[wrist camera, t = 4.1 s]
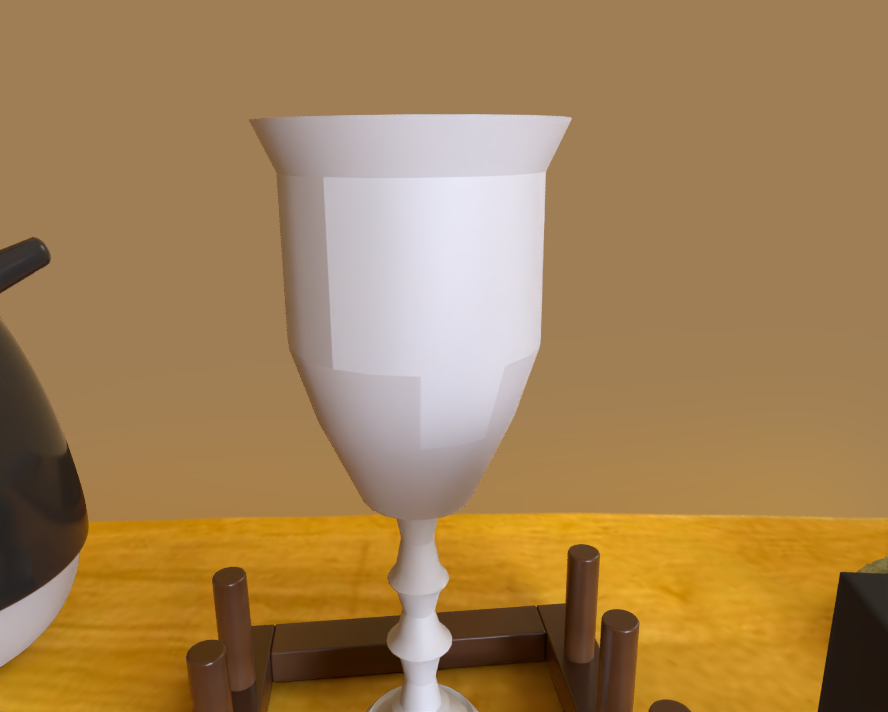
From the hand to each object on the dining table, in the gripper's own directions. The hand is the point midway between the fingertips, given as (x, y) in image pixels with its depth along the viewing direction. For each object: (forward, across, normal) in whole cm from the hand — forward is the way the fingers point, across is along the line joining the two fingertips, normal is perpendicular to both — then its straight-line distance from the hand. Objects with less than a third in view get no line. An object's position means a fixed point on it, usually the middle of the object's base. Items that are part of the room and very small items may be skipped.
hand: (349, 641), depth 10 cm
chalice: (+8, 0, -11) cm, 14 cm away
